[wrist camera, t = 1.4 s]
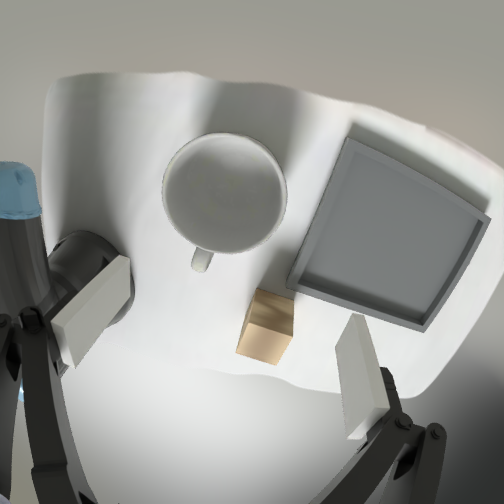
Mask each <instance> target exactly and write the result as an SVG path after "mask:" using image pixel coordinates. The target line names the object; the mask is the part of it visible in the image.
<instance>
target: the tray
mask: <svg viewBox="0 0 504 504" xmlns="http://www.w3.org/2000/svg"><path fill="white" fill-rule="evenodd" d="M490 221H491V218H490V217H488V216H487V215H485V214H484V213H483V212H481V211H480V210H478V209H477V208H475V207H474V206H473V205H471V204H470V203H468V202H467V201H465V200H464V199H462V198H461V197H459V196H457V195H456V194H454V193H453V192H451V191H450V190H448V189H446V188H445V187H443V186H441V185H440V184H438V183H436V182H435V181H433V180H431V179H430V178H428V177H426V176H424V175H423V174H421V173H419V172H417V171H415V170H414V169H412V168H410V167H408V166H406V165H404V164H403V163H401V162H399V161H397V160H395V159H393V158H391V157H389V156H387V155H385V154H383V153H381V152H379V151H377V150H375V149H373V148H370V147H368V146H366V145H364V144H362V143H360V142H357V141H355V140H353V139H351V138H348V137H346V139H345V141H344V144H343V147H342V149H341V152H340V154H339V157H338V159H337V162H336V165H335V167H334V170H333V172H332V175H331V177H330V180H329V182H328V185H327V187H326V189H325V192H324V194H323V197H322V199H321V202H320V204H319V206H318V209H317V211H316V214H315V216H314V218H313V221H312V223H311V225H310V228H309V230H308V232H307V235H306V237H305V239H304V242H303V244H302V246H301V249H300V251H299V253H298V255H297V258H296V260H295V262H294V265H293V267H292V269H291V271H290V273H289V276H288V278H287V281H286V288H288V289H291V290H294V291H297V292H300V293H303V294H306V295H309V296H312V297H315V298H318V299H321V300H323V301H326V302H329V303H332V304H335V305H338V306H341V307H344V308H347V309H350V310H353V311H356V312H360V313H363V314H366V315H369V316H372V317H375V318H378V319H381V320H384V321H387V322H390V323H393V324H397V325H400V326H403V327H406V328H409V329H412V330H416V331H419V332H422V333H424V332H425V331H426V330H427V328H428V327H429V325H430V324H431V323H432V321H433V320H434V318H435V317H436V315H437V314H438V313H439V311H440V310H441V308H442V307H443V305H444V304H445V302H446V301H447V299H448V298H449V296H450V294H451V293H452V291H453V290H454V288H455V286H456V285H457V283H458V282H459V280H460V278H461V277H462V275H463V273H464V271H465V270H466V268H467V266H468V264H469V263H470V261H471V259H472V257H473V255H474V253H475V252H476V250H477V248H478V246H479V244H480V242H481V240H482V238H483V236H484V234H485V232H486V230H487V228H488V225H489V223H490Z"/></svg>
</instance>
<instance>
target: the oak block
mask: <svg viewBox="0 0 504 504" xmlns="http://www.w3.org/2000/svg"><path fill="white" fill-rule="evenodd" d="M293 320H294V301H293V300H290V299H287V298H284V297H282V296H279V295H276V294H273V293H270V292H267V291H264V290H261V289H258V288H257V289H256V291H255V294H254V296H253V298H252V301H251V303H250V306H249V308H248V311H247V313H246V316H245V319H244V322H243V326H242V330H241V334H240V338H239V342H238V345H237V349H236V353H237V354H240V355H243V356H246V357H250V358H253V359H256V360H259V361H262V362H266V363H269V364H272V365H277V363H278V362H279V360H280V358H281V357H282V355H283V353H284V351H285V350H286V348H287V346H288V345H289V343H290V341H291V339H292V338H293Z"/></svg>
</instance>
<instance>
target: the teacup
mask: <svg viewBox="0 0 504 504" xmlns="http://www.w3.org/2000/svg"><path fill="white" fill-rule="evenodd" d="M162 184H163V186H162V201H163V206H164V209H165V212H166V214H167V217H168V219H169V221H170V222H171V224H172V226H173V227H174V228H175V230H176V231H177V232H178V233H179V234H180V235H181V236H183V237H184V238H185V239H186V240H188V241H189V242H190V243H192V244H194V245H195V246H197V247H196V250H195V253H194V256H193V259H192V262H191V267H192V269H193V270H195V271H197V272H202V273H204V272H205V271H206V270H207V268H208V266H209V264H210V262H211V259H212V257H213V255H214V253H221V254H237V253H242V252H246V251H249V250H252V249H254V248H256V247H258V246H259V245H261V244H263V243H264V242H265V241H267V240H268V239H269V238H270V237H271V236H272V234H273V233H274V232H275V231H276V230H277V228H278V227H279V225H280V223H281V222H282V220H283V217H284V214H285V211H286V205H287V186H286V181H285V178H284V175H283V172H282V170H281V168H280V166H279V164H278V162H277V160H276V158H275V157H274V155H273V154H272V153H271V152H270V150H269V149H268V148H267V147H266V146H264V145H263V144H262V143H260V142H259V141H257V140H255V139H253V138H251V137H249V136H246V135H242V134H237V133H230V132H215V133H209V134H206V135H203V136H200V137H197V138H196V139H194V140H192V141H190V142H188V143H187V144H185V145H184V146H183V147H182V148H180V149H179V151H178V152H176V154H175V155H174V157H173V158H172V159H171V161H170V162H169V164H168V167H167V168H166V171H165V173H164V177H163V181H162Z"/></svg>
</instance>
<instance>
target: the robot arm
mask: <svg viewBox="0 0 504 504" xmlns="http://www.w3.org/2000/svg"><path fill="white" fill-rule="evenodd" d="M41 213H42V208H41V206H40V204H39V200H38V193H37V186H36V178H35V175H34V173H33V171H32V169H31V168H30V167H28V166H27V165H25V164H23V163H19V162H4V161H3V162H0V504H11V503H10V502H9V499H10V491H11V463H12V444H13V433H14V424H15V415H16V409H17V402H18V399H19V400H21V401H22V402H24V408H25V417H26V425H27V431H28V437H29V443H30V448H31V453H32V458H33V463H34V467H33V468H32V469H31V475H32V480H33V484H34V487H35V491H36V494H37V497H38V501H39V504H98V502H97V500H96V498H95V496H94V494H93V492H92V490H91V488H90V487H89V485H88V483H87V480H86V477H85V474H84V472H83V469H82V466H81V463H80V460H79V456H78V453H77V450H76V447H75V443H74V439H73V436H72V432H71V428H70V424H69V420H68V416H67V412H66V406H65V401H64V397H63V391H62V385H61V379H60V378H61V377H62V376H63V374H64V373H65V371H66V370H67V369H68V367H69V366H71V367H73V368H76V367H77V365H78V364H79V363H80V362H81V360H82V359H83V357H84V356H85V355H86V353H87V352H88V351H89V349H90V348H91V347H92V345H93V344H94V343H95V341H96V340H97V339H98V337H99V336H100V335H101V333H102V332H103V331H104V329H106V328H107V327H109V326H111V325H112V324H115V323H117V322H119V321H120V320H121V319H122V318H123V317H124V316H125V315H126V313H127V312H128V311H129V309H130V308H131V306H132V304H133V301H134V284H133V279H132V276H131V273H130V258H128V257H124V256H121V255H120V254H119V253H118V251H117V250H116V249H115V248H114V247H113V246H112V245H111V244H110V243H109V242H107V241H106V240H105V239H103V238H102V237H100V236H98V235H96V234H94V233H91V232H87V231H77V232H73V233H71V234H69V235H68V236H66V237H65V238H63V239H62V240H60V241H59V242H58V243H57V244H56V246H55V247H54V249H53V251H52V252H51V254H50V255H49V256H48V257H47V252H46V247H45V241H44V236H43V229H42V223H41V215H40V214H41ZM335 350H336V357H337V364H338V371H339V379H340V387H341V395H342V403H343V412H344V421H345V431H346V439H361V438H362V437H363V436H364V435H365V434H367V441H366V442H365V443H364V444H363V445H362V446H360V447H359V448H358V449H357V450H358V451H357V453H356V454H355V455H354V456H353V457H352V458H351V460H350V461H349V462H348V463H347V464H346V465H345V466H344V468H343V469H342V470H341V471H340V472H339V473H338V474H337V476H336V477H335V478H334V479H333V480H332V481H331V482H330V483H329V484H328V485H327V486H326V487H325V488H324V489H323V490H322V491H321V492H320V493H319V494H318V495H317V496H316V497H315V498H314V499H313V500H312V501H311V502H310V503H309V504H364V503H365V502H366V500H367V499H368V498H369V496H370V495H371V494H372V492H373V491H374V490H375V488H376V487H377V485H378V484H379V482H380V481H381V480H382V478H383V477H384V476H385V474H386V473H387V471H388V470H389V468H390V466H391V465H392V464H393V462H394V465H393V468H392V471H391V474H390V476H389V479H388V482H387V485H386V487H385V490H384V493H383V495H382V498H381V500H380V503H379V504H434V502H435V498H436V494H437V490H438V486H439V480H440V476H441V471H442V465H443V459H444V453H445V446H446V439H447V435H446V431H445V429H444V428H443V427H442V426H441V425H440V424H438V423H431V424H430V425H428V426H427V427H426V428H424V427H421V426H418V425H415V424H413V421H412V419H411V418H410V417H409V416H408V415H407V414H405V413H403V412H402V408H401V404H400V401H399V397H398V393H397V391H396V386H395V384H394V379H393V376H392V374H391V373H390V371H389V370H388V368H385V367H379V363H378V360H377V356H376V353H375V349H374V346H373V343H372V339H371V336H370V333H369V329H368V326H367V323H366V320H365V317H364V315H359V314H355V313H352V315H351V317H350V319H349V321H348V323H347V325H346V327H345V329H344V331H343V333H342V335H341V337H340V339H339V341H338V343H337V344H336V346H335ZM394 460H395V461H394Z"/></svg>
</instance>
